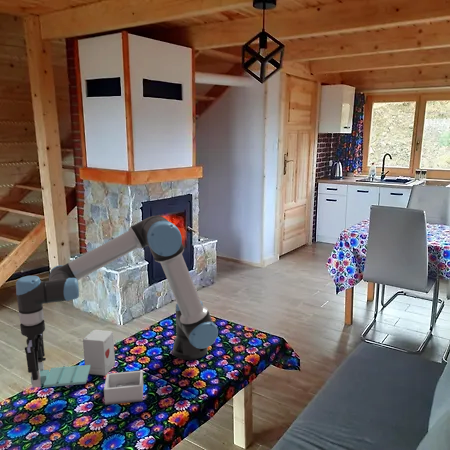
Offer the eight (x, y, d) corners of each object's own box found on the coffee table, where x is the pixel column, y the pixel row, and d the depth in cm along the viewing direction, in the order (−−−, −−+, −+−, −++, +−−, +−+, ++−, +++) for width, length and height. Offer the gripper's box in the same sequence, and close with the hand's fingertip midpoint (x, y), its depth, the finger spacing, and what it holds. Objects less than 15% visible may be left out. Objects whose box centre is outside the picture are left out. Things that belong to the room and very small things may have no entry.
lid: (90, 369, 156) (90, 361, 156) (86, 386, 146) (85, 377, 145) (37, 373, 153) (36, 365, 153) (28, 391, 143) (27, 382, 142)
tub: (143, 384, 160) (142, 370, 159) (142, 401, 151) (141, 386, 150) (108, 388, 159) (107, 373, 157) (105, 404, 149) (103, 389, 148)
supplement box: (105, 376, 166) (103, 341, 163) (84, 373, 168) (81, 339, 165) (116, 364, 175) (113, 330, 172) (96, 361, 177) (93, 328, 173)
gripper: (28, 311, 151) (34, 370, 156) (12, 333, 135) (19, 398, 140) (50, 310, 152) (55, 368, 157) (36, 332, 136) (43, 396, 141)
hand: (38, 382), depth 149 cm, fingers closed on lid, 4 cm apart
